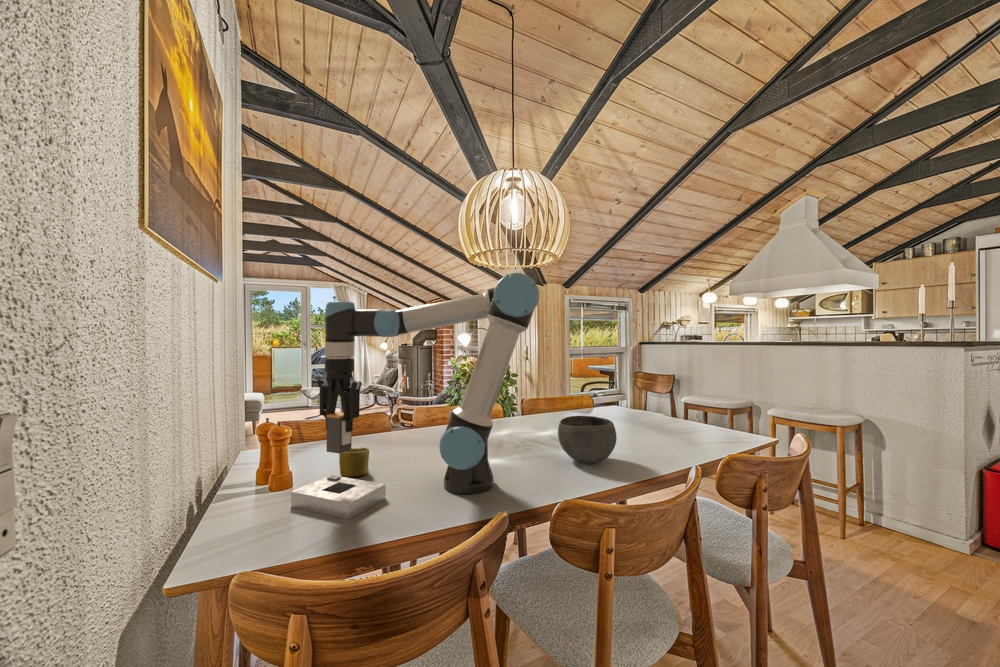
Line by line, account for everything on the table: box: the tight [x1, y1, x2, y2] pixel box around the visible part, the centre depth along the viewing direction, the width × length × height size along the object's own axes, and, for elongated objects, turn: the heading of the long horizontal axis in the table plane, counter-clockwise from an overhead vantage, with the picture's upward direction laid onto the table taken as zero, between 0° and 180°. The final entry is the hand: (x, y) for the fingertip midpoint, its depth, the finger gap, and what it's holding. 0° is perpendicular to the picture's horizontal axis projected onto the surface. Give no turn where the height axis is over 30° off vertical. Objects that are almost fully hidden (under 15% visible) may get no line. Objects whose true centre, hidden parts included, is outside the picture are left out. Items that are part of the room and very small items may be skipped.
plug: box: [326, 411, 353, 454], centre depth 111 cm, size 4×4×10 cm
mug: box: [338, 446, 370, 478], centre depth 135 cm, size 12×10×10 cm
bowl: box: [557, 415, 617, 465], centre depth 147 cm, size 21×21×15 cm
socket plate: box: [290, 474, 387, 520], centre depth 111 cm, size 20×14×5 cm
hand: (339, 442), depth 111 cm, fingers closed on plug, 4 cm apart
